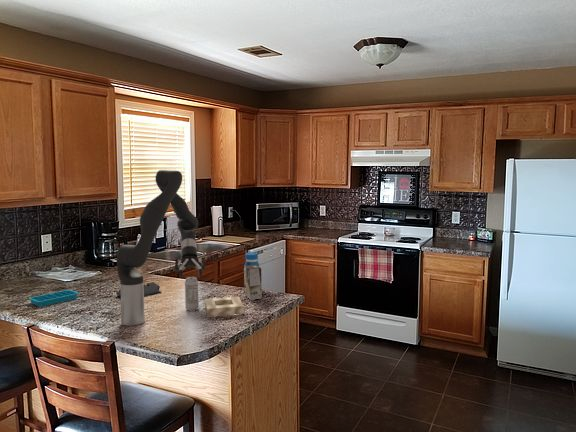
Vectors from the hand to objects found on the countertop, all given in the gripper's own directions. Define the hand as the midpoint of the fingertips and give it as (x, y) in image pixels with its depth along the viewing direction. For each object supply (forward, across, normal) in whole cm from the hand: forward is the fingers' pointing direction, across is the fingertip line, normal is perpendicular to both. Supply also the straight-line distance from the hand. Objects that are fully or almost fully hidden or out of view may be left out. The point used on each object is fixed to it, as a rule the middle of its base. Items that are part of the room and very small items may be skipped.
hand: (190, 277), depth 214 cm
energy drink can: (+14, 0, +5) cm, 15 cm away
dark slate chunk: (-10, -26, +31) cm, 41 cm away
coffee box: (+6, +31, +14) cm, 35 cm away
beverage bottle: (-5, +33, +25) cm, 42 cm away
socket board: (+19, +14, +1) cm, 23 cm away
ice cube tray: (-9, -66, +29) cm, 72 cm away
